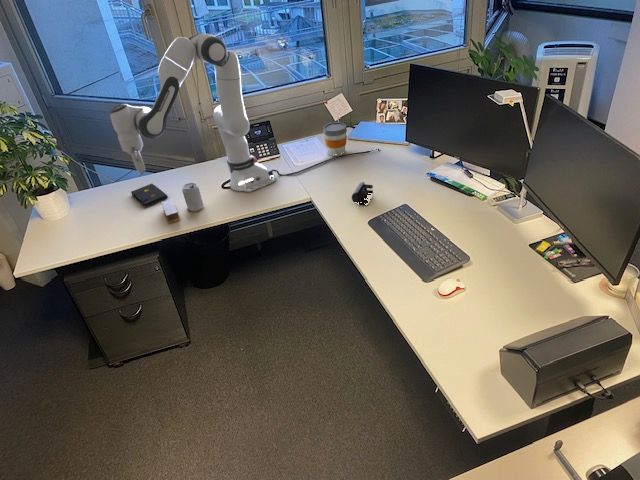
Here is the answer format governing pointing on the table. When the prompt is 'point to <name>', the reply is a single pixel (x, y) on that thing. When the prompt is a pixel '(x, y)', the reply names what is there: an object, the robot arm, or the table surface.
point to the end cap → (362, 193)
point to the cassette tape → (149, 195)
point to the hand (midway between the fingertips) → (142, 173)
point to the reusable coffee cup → (335, 138)
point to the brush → (170, 211)
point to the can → (192, 196)
